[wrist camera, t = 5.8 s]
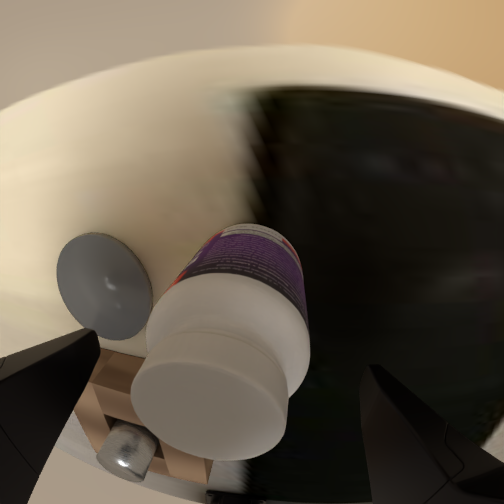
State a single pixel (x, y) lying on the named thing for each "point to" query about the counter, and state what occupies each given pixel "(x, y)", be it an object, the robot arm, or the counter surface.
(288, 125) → the counter surface
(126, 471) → the plug
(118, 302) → the coaster
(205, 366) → the pill bottle
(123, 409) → the socket block
